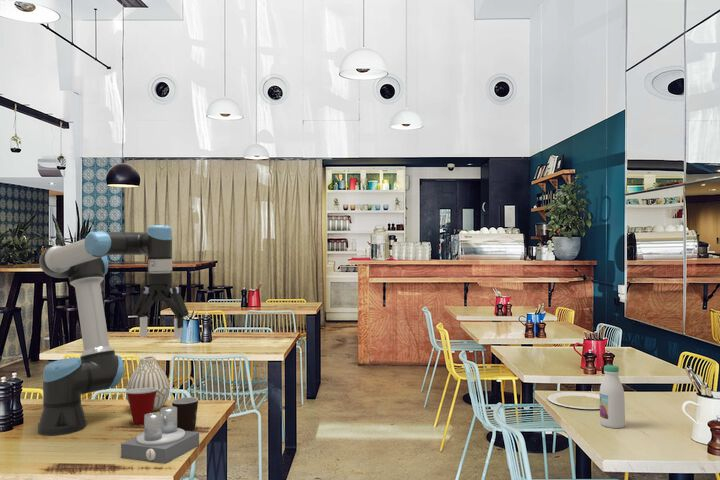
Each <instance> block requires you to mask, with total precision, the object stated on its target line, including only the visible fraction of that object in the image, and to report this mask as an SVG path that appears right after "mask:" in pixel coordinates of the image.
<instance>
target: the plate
mask: <svg viewBox="0 0 720 480" xmlns="http://www.w3.org/2000/svg"><path fill="white" fill-rule="evenodd" d="M567 396H571V397H572V396H573V397H576V396H577V397H588V398H594V399H598V400H600V394H599V393H593V392H591V393H590V392H583V391H563V392H555V393H552V394H550V395H548V397H547V400H548V402H550V403H551V404H554V405H557V406H559V407H563V408H569V409H576V410H584V411H585V410H586V411H587V410H589V411H590V410H591V411H593V410H594V411H598V410H599V411H600V407H581V406H571V405H565V404H562V403H559V402H558V401H557V399H558V398H562V397H567Z"/></svg>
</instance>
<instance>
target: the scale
mask: <svg viewBox="0 0 720 480" xmlns="http://www.w3.org/2000/svg"><path fill="white" fill-rule="evenodd" d="M199 446H200V431H184V430H183V429H180V428H177V431H176V432H174V433H169V434H163V433H162V438H161V439H159V440H156V441H145V440H144V431H142V432H140V433H139V434H137V435H136V436H135V437H133V438H130V439H129V440H126V441H124V442H121V443H120V458H126V459H132V460H140V461H146V462H153V463H161V464H167V463H169V462H171V461H172V460H175V459H177V458H178V457H180V456H182V455H184V454H185V453H187V452H190V451H191V450H193V449H195V448H197V447H199Z"/></svg>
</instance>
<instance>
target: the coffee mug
mask: <svg viewBox="0 0 720 480" xmlns="http://www.w3.org/2000/svg"><path fill="white" fill-rule="evenodd" d="M171 405H172V406H175V407H177V428H180V429H183V430H184V431H192V432H195V431H196V423H197V416H198V415H197V414H198V405H199V398H198V397H191V396H188V397H185V396H184V397H179V398H175V399H173V400H172V401H171Z"/></svg>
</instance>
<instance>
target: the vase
mask: <svg viewBox="0 0 720 480" xmlns="http://www.w3.org/2000/svg"><path fill="white" fill-rule="evenodd" d="M125 388H126V389H125V396H126V397H125V398H126V400H127V402H128V404H129V400H128V395H127V393H126V391H127V390H131V389H137V388H158V391H157V392H156V395H155V399H154V406H153V412H157V411H158V410H160V409H161V408H163V406H165V404H166V403H167V401H168V399H169V396H170V391H171V390H170V389H171V386H170V382H169V379H168V375H166V373H165V371H164V370H163V368H162V367H161V366H160V365H159V363H158V361H157V358H156V356H153V355H151V356H150V355H149V356H142V357H140V359H139V362H138V365H137V366H136V368H135V369H134V370H133V372H132V373H131V376H130V377H129V379H128V381H127V384H126V387H125Z"/></svg>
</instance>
